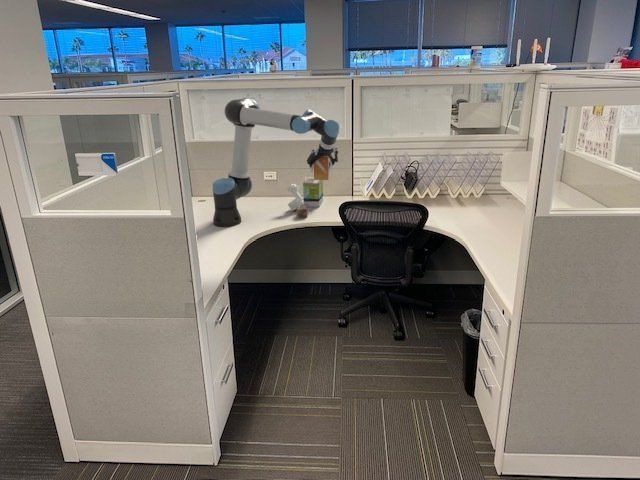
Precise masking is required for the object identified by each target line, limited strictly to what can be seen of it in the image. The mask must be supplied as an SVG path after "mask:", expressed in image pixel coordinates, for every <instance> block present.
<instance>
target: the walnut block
mask: <svg viewBox="0 0 640 480" xmlns="http://www.w3.org/2000/svg"><path fill="white" fill-rule="evenodd" d="M303 206H304V205H303ZM303 206H302V207H300V206H299V207H297V208H296V216H297V218H298V219H304V218H305V219H307V218H308V207H305V206H304V207H303Z"/></svg>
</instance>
